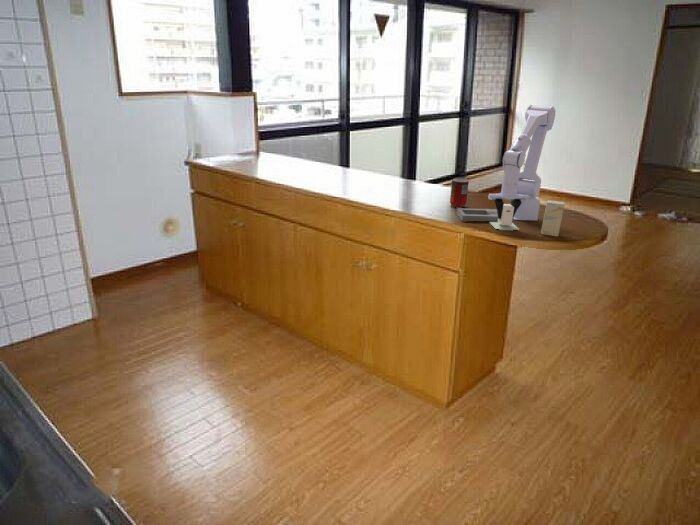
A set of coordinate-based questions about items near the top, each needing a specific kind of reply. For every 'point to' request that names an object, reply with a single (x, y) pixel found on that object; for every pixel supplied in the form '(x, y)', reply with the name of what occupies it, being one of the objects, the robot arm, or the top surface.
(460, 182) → the soda can
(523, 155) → the robot arm
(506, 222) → the charger
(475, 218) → the grey tray
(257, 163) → the top surface
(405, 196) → the top surface
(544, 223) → the skincare box
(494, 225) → the mat
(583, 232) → the top surface
